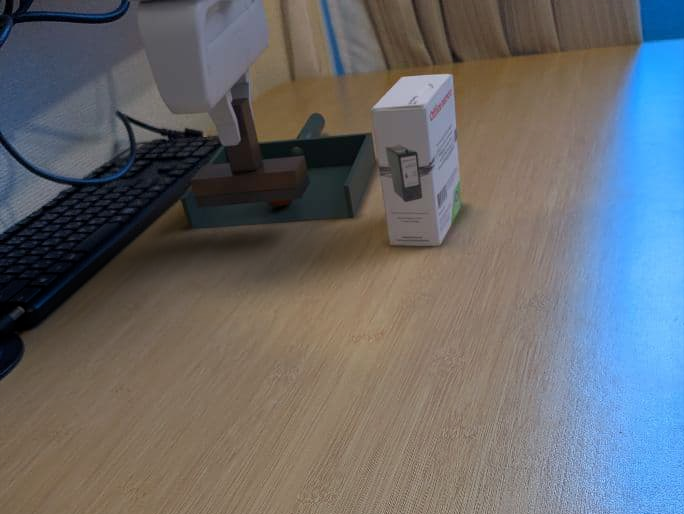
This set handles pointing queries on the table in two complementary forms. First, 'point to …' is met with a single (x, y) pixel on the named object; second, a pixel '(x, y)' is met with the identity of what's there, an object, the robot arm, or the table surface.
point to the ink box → (418, 159)
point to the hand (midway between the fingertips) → (238, 135)
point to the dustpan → (325, 182)
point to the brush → (249, 171)
